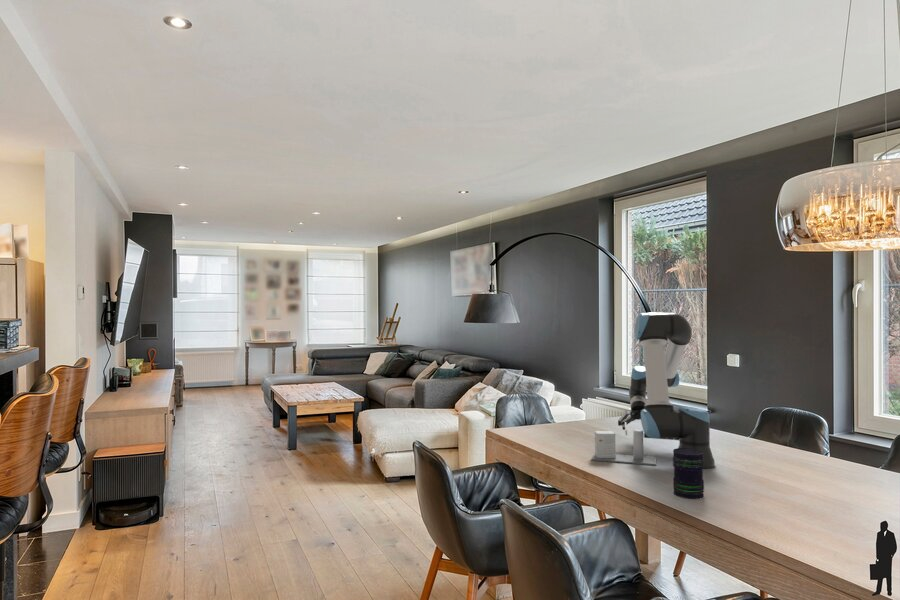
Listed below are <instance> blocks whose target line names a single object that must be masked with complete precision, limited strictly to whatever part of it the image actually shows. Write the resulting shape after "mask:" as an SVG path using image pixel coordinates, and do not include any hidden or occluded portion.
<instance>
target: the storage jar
mask: <svg viewBox="0 0 900 600" xmlns="http://www.w3.org/2000/svg"><path fill="white" fill-rule="evenodd" d="M672 450H673V451H672V452H673V455H672V461H673V462H672V466H673V477H672V478H673V479H672V480H673V481H672V485H673V495H674V496H676V497H678V498H682V499H685V500H687V499H688V500H700V498H701V499H703V498H704V497H705V496H704V495H705V494H704V492H705V491H704V490H705V486H704V485H705V484H704V483H705V482H704V477H703V476H704V475H703V473H704V471H703V470H704V468H703V467H704V466H703V464H704V460H703V452H702V451H700V450H696V449H690V448H678V447H677V448H673V449H672Z"/></svg>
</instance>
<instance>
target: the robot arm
mask: <svg viewBox="0 0 900 600" xmlns="http://www.w3.org/2000/svg"><path fill="white" fill-rule="evenodd" d="M692 334H693V331H692V326H691V324H690V322H689V321H688V319H687V318H685V316H683V315H681V314H679V313H678V312H677V313H676V312H650V311H649V312H641V313H639V314H638V315H637V317H636V320H635V325H634V338H635V339H636V340H638V341H639V345H640V346H642V348H643V357H644V358H643V359H644V366H642V365H636V366H634V367H633V368H632V370H631V374H630V386H629V390H628V396H629V403H630V404H629V405H630V411H628V410H626V409H625V410H624V412H623V414H622V415H621V416H620V417H619V419H617V426H618V427H621V426H622V427H621V428H622V430H623V431H625V432H624V433H625V436H628V425H629V424H631V423H632V422H634V421H637V420H640V423H641V426H642V427H641V428H642V431H643V433H644V432H645V434H646V435H647V436H648V437H647V438H651V439H652V438H654V439H668V438H673V439H675V438H679V439H680V440H679V439H678V440H679V442H678V443H679V445H678V447H677V448H690V449H696V450H700V451H702V452H703V460H704V464H703V466H704V467H703V469H711V468H713V467H715V465H716V463H715V458H714V456H713V451H712V449H711V446H710V444H711V443H710V442H711V440H710V439H711V438H710V424H711V421H710V414H709V412H708V411H707V410H704V409H702V408H697V407H692V406H686V405H682V406H681V405H680V406H679V407H678V409H674V404H673V403H672V402H671V401H670V395H669V388H672V387H673V388H674V387H676V388H677V387H679V385H680V374H679V372H678V369H679V367H680V363H681V362H682V361H681V360H682V357H683V355H684V352H685V350H686V346H687V345H689V344H690V342H691V339H692V337H693V335H692ZM666 345H667V346H666ZM665 346H666V349H665ZM646 398H647V399H646Z"/></svg>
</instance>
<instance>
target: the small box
mask: <svg viewBox="0 0 900 600" xmlns="http://www.w3.org/2000/svg"><path fill="white" fill-rule="evenodd" d="M594 453H595V455H596V457H597V458H616V454H617V452H616V433H615V432H614V431H612V430H603V431H602V430H595V431H594Z"/></svg>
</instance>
